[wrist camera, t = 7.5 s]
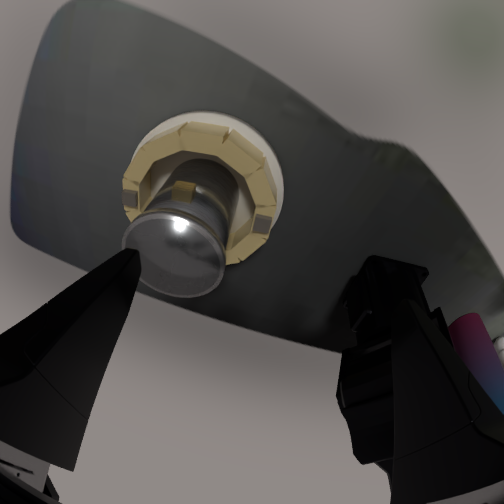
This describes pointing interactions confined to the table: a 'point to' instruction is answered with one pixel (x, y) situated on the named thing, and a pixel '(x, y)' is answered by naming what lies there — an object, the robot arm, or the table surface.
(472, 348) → the cup
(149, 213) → the bayonet cap
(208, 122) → the ring
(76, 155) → the table surface
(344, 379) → the robot arm
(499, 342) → the lightbulb
